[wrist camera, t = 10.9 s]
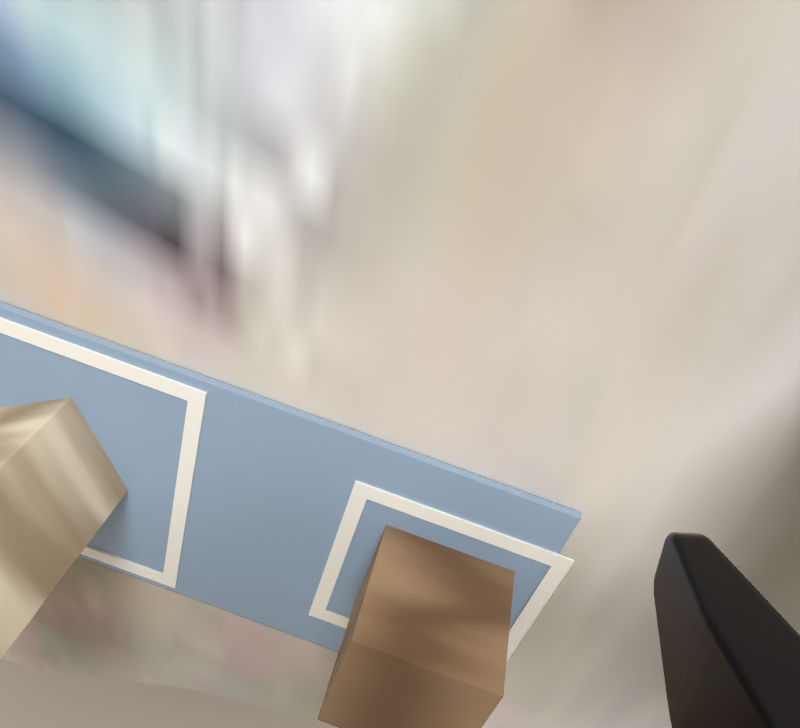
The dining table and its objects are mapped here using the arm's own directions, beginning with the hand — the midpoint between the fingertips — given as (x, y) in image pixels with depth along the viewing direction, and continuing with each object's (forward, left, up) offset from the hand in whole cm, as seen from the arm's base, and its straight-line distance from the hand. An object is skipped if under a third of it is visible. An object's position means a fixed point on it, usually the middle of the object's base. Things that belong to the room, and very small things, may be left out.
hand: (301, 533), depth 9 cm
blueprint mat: (+5, +15, -13) cm, 20 cm away
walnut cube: (-4, +15, -12) cm, 20 cm away
